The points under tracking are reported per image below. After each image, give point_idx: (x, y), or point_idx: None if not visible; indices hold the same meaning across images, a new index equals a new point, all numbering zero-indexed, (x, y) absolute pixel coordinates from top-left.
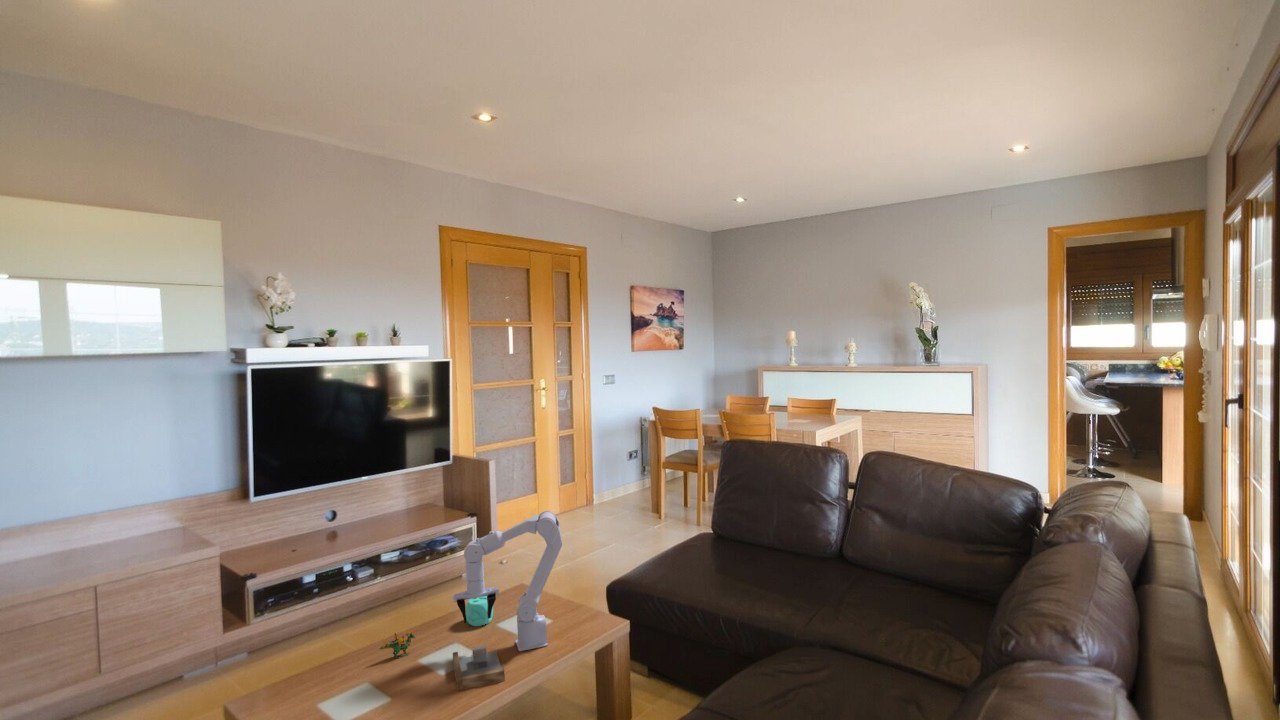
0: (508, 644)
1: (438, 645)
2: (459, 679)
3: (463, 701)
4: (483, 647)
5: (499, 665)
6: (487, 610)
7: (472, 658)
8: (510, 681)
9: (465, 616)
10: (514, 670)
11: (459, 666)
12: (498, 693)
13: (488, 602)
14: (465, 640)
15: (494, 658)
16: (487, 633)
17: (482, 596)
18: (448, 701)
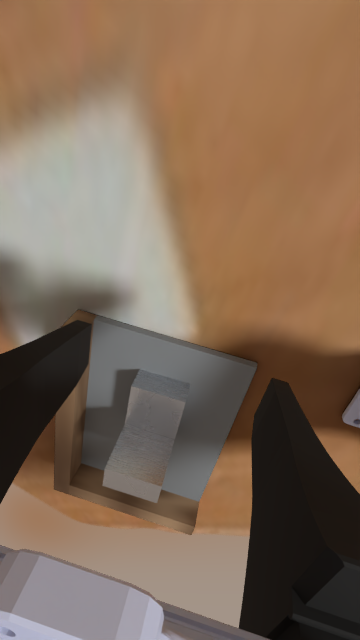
0: (352, 327)
1: (25, 59)
2: (60, 489)
3: (75, 500)
4: (147, 495)
5: (215, 454)
6: (279, 404)
7: (127, 411)
8: (207, 515)
9: (54, 407)
10: (246, 488)
11: (69, 436)
12: (158, 528)
13: (250, 583)
14: (185, 104)
15: (222, 409)
16: (354, 88)
17: (187, 630)
18: (42, 480)
